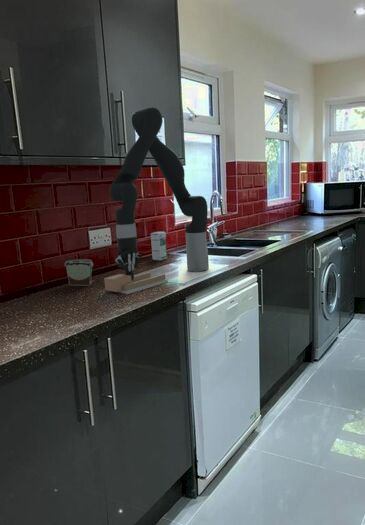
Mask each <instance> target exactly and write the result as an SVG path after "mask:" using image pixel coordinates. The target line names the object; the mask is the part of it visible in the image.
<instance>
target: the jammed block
mask: <svg viewBox="0 0 365 525" xmlns="http://www.w3.org/2000/svg"><path fill="white" fill-rule="evenodd" d="M129 283H132V282H131V275H126V274H123V273H118V274H115V275H111V276H108V277H104V289H105V290H106V291H107V290H109V292H113V291H115V292H114V293H118V292H117V291H120V290H123V286H122V285H126V284H129Z"/></svg>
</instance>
